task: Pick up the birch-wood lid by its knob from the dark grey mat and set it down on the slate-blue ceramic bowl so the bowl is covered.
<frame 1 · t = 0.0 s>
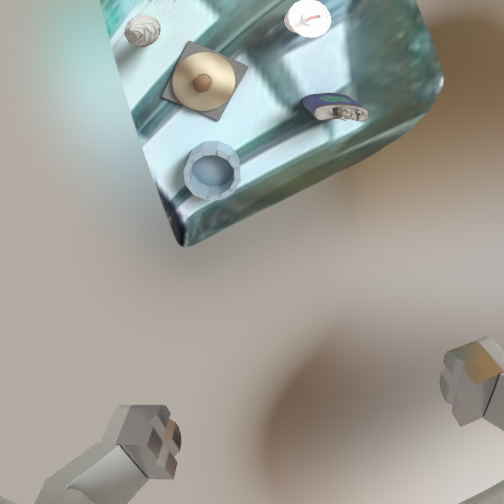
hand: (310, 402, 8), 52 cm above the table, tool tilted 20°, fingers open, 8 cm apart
ice cream cone: (156, 31, 41), on the table
flask: (327, 100, 51), on the table
lid: (203, 80, 47), point 1 cm above the table, touching mat
beverage cup: (297, 21, 42), on the table
bowl: (213, 165, 58), on the table
mat: (204, 80, 48), on the table
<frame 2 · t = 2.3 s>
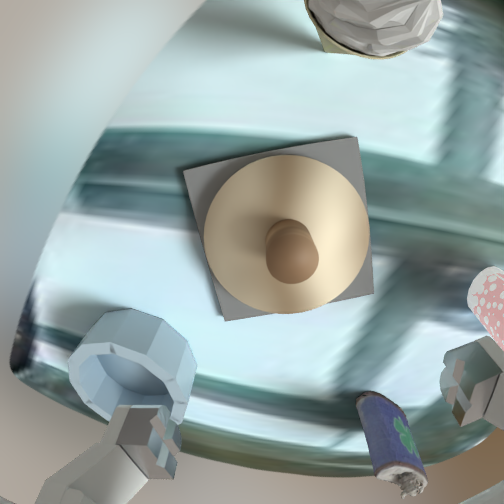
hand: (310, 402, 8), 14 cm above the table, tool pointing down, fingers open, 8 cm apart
ice cream cone: (327, 50, 17), on the table
flask: (383, 409, 28), on the table
lid: (287, 236, 21), point 1 cm above the table, touching mat
beverage cup: (485, 289, 22), on the table
bowl: (140, 358, 25), on the table
mat: (286, 233, 21), on the table
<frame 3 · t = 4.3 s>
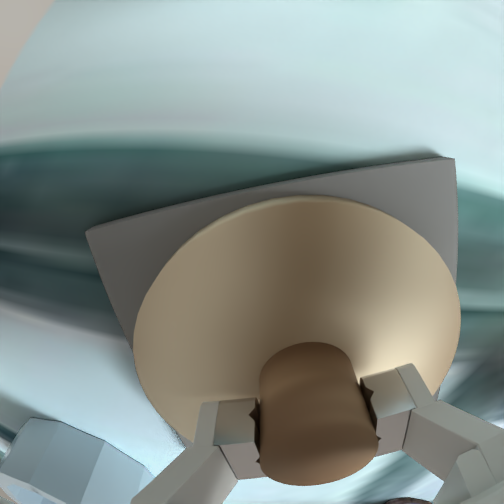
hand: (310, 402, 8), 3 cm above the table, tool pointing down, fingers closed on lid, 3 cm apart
lid: (302, 358, 10), point 1 cm above the table, touching gripper, mat
bowl: (88, 469, 14), on the table
mat: (300, 347, 10), on the table
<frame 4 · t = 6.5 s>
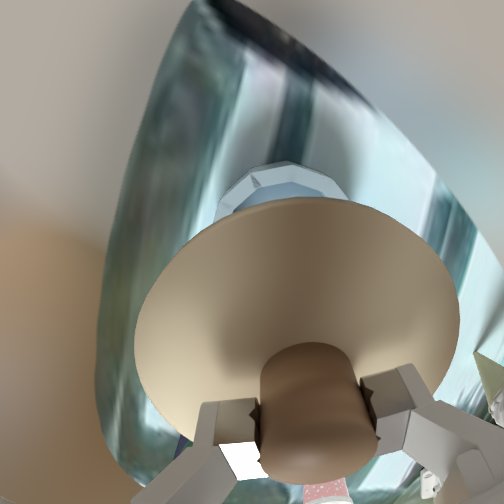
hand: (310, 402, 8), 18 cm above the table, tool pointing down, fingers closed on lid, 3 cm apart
ice cream cone: (473, 352, 29), on the table
lid: (302, 358, 10), point 16 cm above the table, touching gripper
beverage cup: (320, 454, 35), on the table
bowl: (282, 225, 25), on the table
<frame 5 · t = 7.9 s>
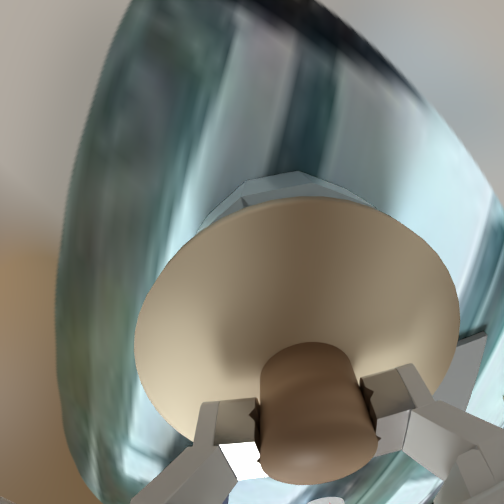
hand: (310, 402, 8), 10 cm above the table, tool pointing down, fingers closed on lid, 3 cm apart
lid: (302, 358, 10), point 8 cm above the table, touching gripper
beverage cup: (323, 503, 28), on the table
bowl: (289, 266, 17), on the table
mat: (416, 402, 21), on the table
when the fingers open (7 cm above the table, at t = 9.0 s): lid stays where it is, resting on bowl.
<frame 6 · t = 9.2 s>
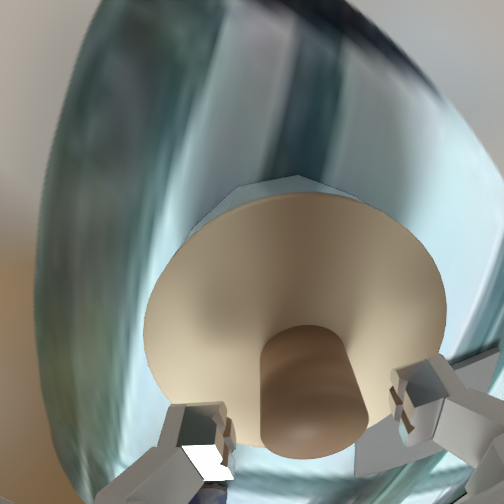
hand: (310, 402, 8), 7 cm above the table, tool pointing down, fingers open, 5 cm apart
flask: (192, 494, 23), on the table
lid: (299, 342, 11), point 4 cm above the table, touching bowl
bowl: (288, 284, 15), on the table
mat: (423, 421, 19), on the table
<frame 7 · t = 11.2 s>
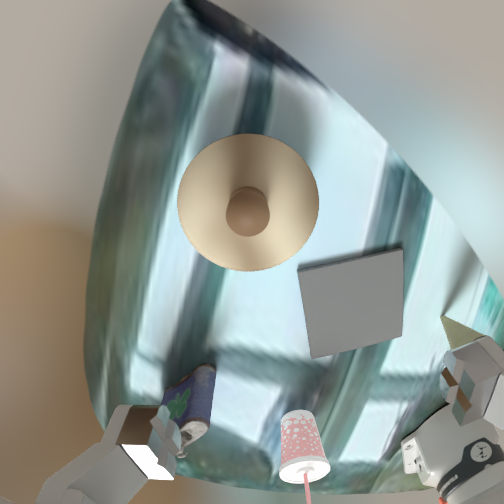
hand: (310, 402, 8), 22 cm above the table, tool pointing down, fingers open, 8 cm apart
ice cream cone: (441, 316, 34), on the table
flask: (189, 383, 37), on the table
lid: (248, 202, 24), point 4 cm above the table, touching bowl
beverage cup: (297, 419, 39), on the table
mat: (354, 305, 32), on the table
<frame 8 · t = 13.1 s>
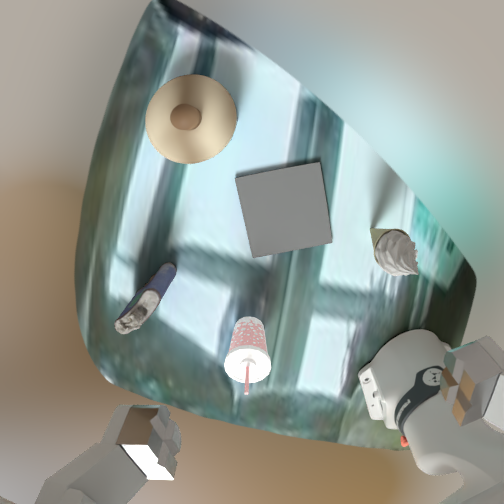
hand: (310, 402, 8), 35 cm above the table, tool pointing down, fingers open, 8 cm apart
ice cream cone: (371, 229, 43), on the table
flask: (156, 284, 46), on the table
lid: (191, 118, 34), point 4 cm above the table, touching bowl
beverage cup: (249, 328, 48), on the table
mat: (285, 210, 42), on the table
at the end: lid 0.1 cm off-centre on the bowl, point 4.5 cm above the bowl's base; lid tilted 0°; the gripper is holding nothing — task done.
